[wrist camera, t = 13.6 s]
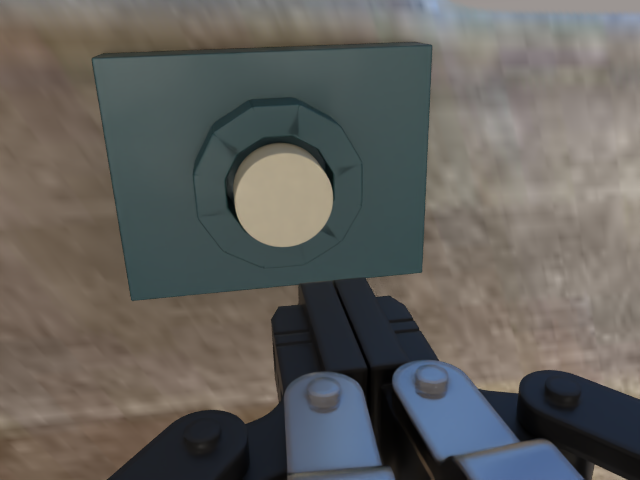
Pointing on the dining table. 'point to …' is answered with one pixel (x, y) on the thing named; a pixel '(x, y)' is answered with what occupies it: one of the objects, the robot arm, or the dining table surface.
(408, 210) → the control block
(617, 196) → the dining table surface
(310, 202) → the button
